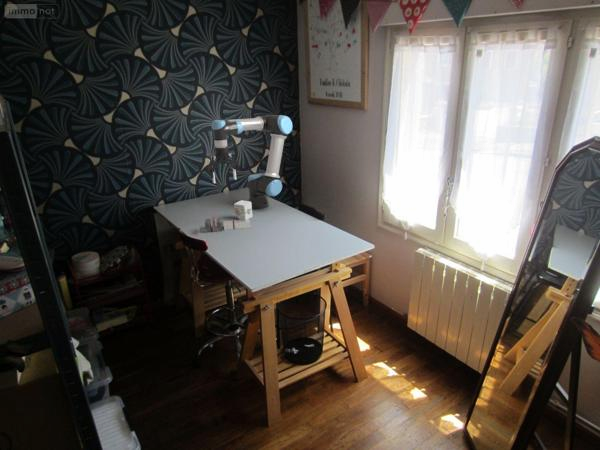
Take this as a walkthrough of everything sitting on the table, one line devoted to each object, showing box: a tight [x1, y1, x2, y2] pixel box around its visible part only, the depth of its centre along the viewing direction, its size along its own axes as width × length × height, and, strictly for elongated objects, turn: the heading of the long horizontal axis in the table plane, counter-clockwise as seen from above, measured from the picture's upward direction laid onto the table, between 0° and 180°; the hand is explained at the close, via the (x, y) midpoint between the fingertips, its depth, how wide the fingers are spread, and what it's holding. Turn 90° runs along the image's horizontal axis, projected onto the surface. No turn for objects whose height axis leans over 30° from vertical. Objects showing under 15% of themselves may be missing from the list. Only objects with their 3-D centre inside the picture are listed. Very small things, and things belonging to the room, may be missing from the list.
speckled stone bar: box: [223, 218, 251, 231], centre depth 256 cm, size 16×4×4 cm, turn 99°
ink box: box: [233, 199, 254, 220], centre depth 271 cm, size 9×9×12 cm
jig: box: [204, 214, 224, 233], centre depth 255 cm, size 32×9×9 cm, turn 99°
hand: (224, 181), depth 256 cm, fingers open, 13 cm apart
